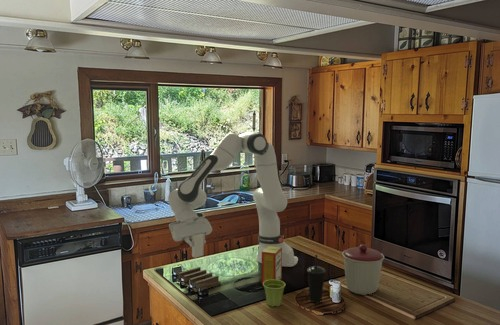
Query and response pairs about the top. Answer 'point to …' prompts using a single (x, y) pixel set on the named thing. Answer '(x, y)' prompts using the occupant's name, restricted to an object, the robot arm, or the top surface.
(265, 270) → the baking soda box
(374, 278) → the canister
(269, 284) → the plant pot
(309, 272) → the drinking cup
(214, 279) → the rack
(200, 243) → the clay tile
